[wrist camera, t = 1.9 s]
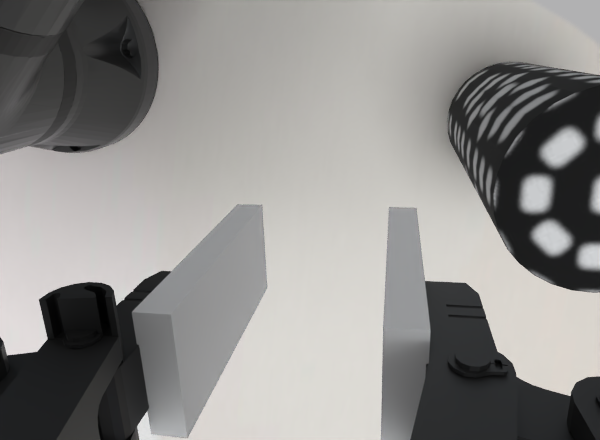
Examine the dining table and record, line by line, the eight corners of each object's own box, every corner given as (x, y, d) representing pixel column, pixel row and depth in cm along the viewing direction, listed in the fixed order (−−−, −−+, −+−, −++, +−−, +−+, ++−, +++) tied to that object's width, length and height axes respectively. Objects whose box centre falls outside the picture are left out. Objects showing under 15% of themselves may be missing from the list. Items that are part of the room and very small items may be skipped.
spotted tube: (449, 64, 37) (501, 86, 19) (572, 59, 36) (759, 77, 17) (445, 174, 40) (485, 288, 22) (558, 174, 39) (708, 296, 20)
